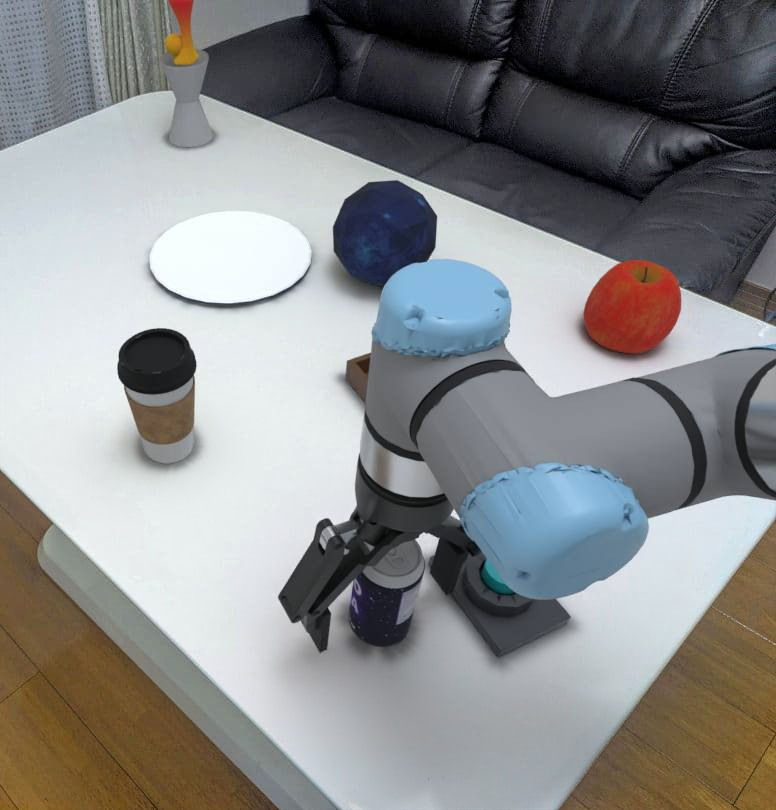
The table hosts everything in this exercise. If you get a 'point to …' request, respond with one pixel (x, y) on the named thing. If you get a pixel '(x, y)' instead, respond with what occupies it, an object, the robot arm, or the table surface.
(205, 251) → the plate
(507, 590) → the button
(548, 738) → the table surface
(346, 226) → the decorative orb
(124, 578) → the table surface
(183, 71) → the lava lamp
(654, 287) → the apple
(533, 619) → the grey base plate
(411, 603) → the beverage can
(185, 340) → the coffee cup
